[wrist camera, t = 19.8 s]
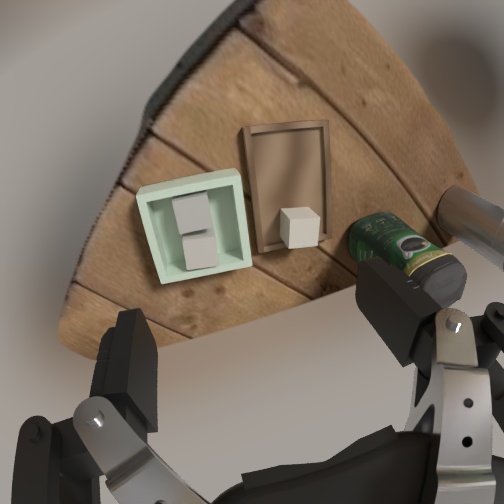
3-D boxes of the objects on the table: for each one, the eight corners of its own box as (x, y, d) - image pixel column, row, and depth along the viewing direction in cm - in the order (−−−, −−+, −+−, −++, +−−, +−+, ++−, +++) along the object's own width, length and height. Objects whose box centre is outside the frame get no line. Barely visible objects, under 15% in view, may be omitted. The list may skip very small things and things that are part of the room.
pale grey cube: (213, 223, 38) (216, 236, 34) (215, 251, 40) (218, 265, 36) (182, 227, 37) (182, 240, 34) (186, 254, 39) (186, 270, 36)
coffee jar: (346, 263, 46) (412, 338, 30) (344, 219, 43) (423, 287, 26) (393, 247, 47) (463, 309, 31) (394, 205, 43) (477, 260, 27)
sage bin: (235, 167, 36) (240, 174, 32) (246, 251, 42) (252, 265, 38) (140, 186, 34) (135, 196, 31) (162, 268, 40) (161, 284, 37)
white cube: (308, 206, 40) (320, 217, 36) (306, 233, 41) (317, 245, 38) (280, 208, 39) (290, 219, 35) (279, 235, 41) (288, 248, 37)
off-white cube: (205, 185, 35) (207, 194, 32) (210, 215, 37) (213, 227, 34) (173, 192, 35) (172, 202, 31) (180, 221, 37) (179, 234, 33)
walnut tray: (324, 119, 35) (328, 120, 34) (328, 235, 43) (331, 238, 42) (241, 127, 33) (243, 127, 32) (256, 249, 42) (258, 253, 41)
